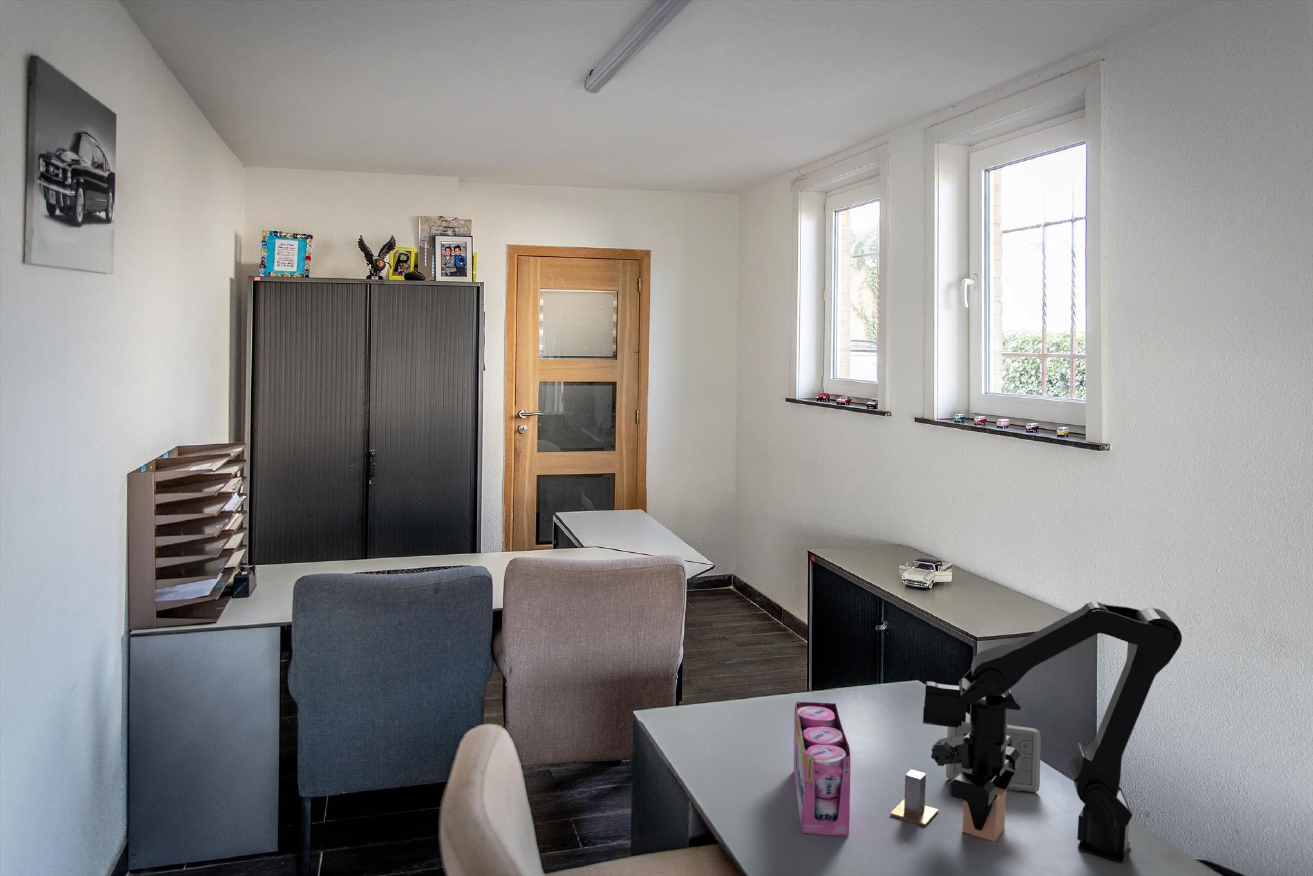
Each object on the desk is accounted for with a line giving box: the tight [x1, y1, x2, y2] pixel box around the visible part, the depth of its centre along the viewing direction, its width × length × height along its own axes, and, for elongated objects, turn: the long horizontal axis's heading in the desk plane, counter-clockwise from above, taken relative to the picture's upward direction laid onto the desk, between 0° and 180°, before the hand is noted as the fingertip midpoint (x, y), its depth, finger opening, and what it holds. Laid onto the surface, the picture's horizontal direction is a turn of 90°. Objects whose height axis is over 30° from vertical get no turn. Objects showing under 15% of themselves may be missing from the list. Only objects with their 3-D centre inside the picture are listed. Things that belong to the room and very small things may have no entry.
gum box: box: [793, 701, 851, 837], centre depth 158 cm, size 24×8×14 cm, turn 175°
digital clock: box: [945, 719, 1042, 793], centre depth 167 cm, size 16×9×11 cm, turn 60°
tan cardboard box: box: [962, 787, 1007, 842], centre depth 150 cm, size 5×5×7 cm
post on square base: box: [889, 769, 939, 828], centre depth 155 cm, size 6×6×7 cm
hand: (983, 822), depth 150 cm, fingers open, 6 cm apart
